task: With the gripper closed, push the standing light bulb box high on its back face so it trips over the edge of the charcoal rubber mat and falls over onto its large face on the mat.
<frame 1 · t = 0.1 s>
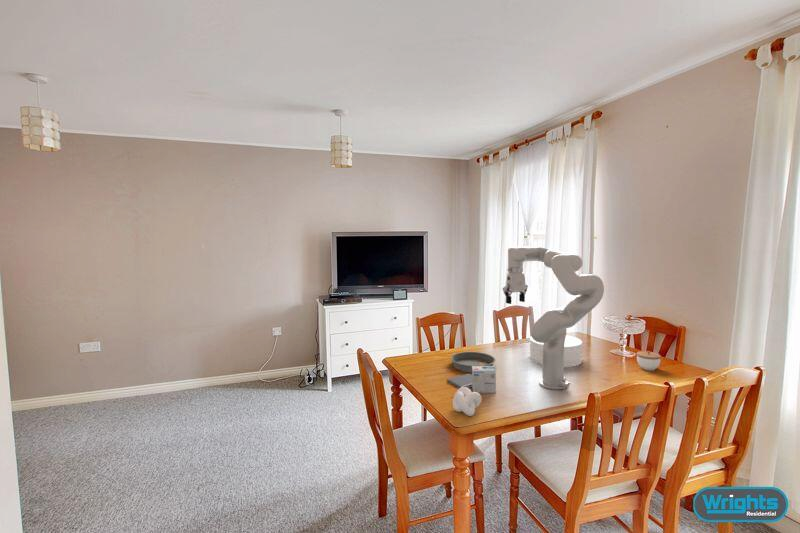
hand: (515, 302, 200), 37 cm above the table, tool pointing down, fingers open, 9 cm apart
mat: (465, 382, 188), on the table
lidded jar: (648, 368, 201), on the table
cake pan: (473, 366, 212), on the table
light bulb box: (483, 390, 178), on the table
plate stack: (555, 359, 220), on the table
white decorative knot: (468, 411, 157), on the table
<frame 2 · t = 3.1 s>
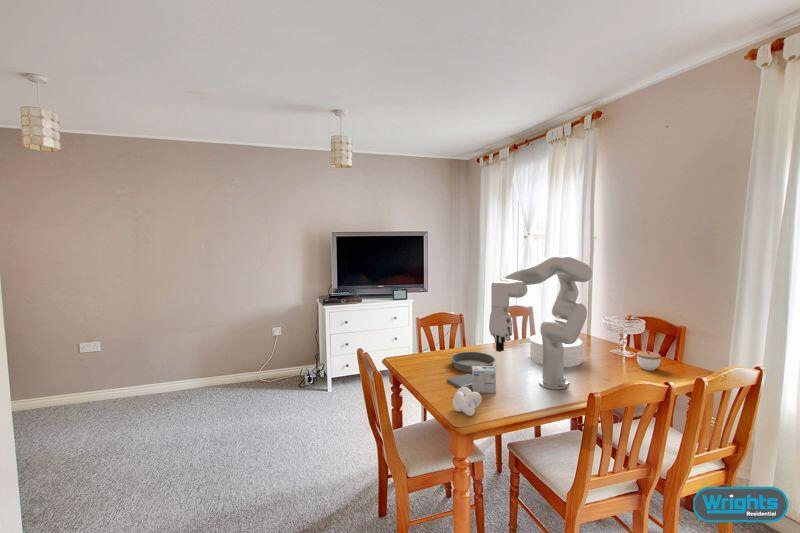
hand: (499, 350, 167), 22 cm above the table, tool pointing down, fingers closed
nothing on the table moved.
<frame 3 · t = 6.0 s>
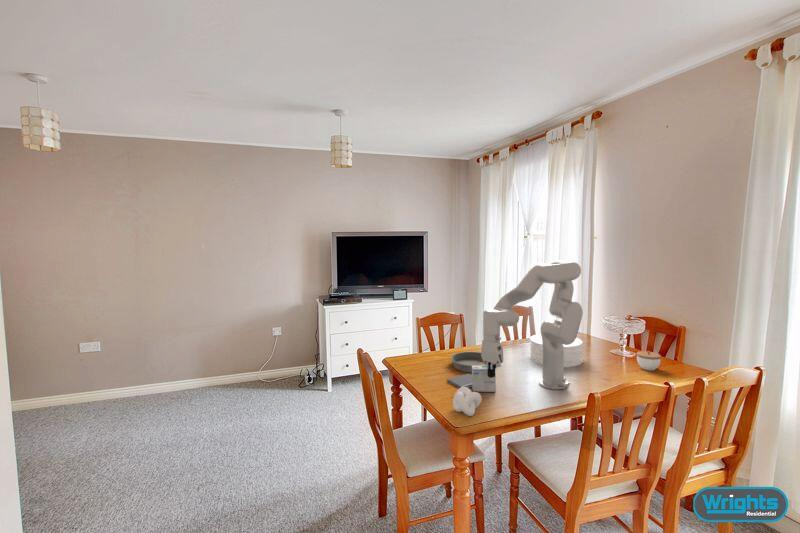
hand: (491, 376, 172), 8 cm above the table, tool pointing down, fingers closed
light bulb box: (483, 390, 178), on the table, touching gripper
everything else where it was.
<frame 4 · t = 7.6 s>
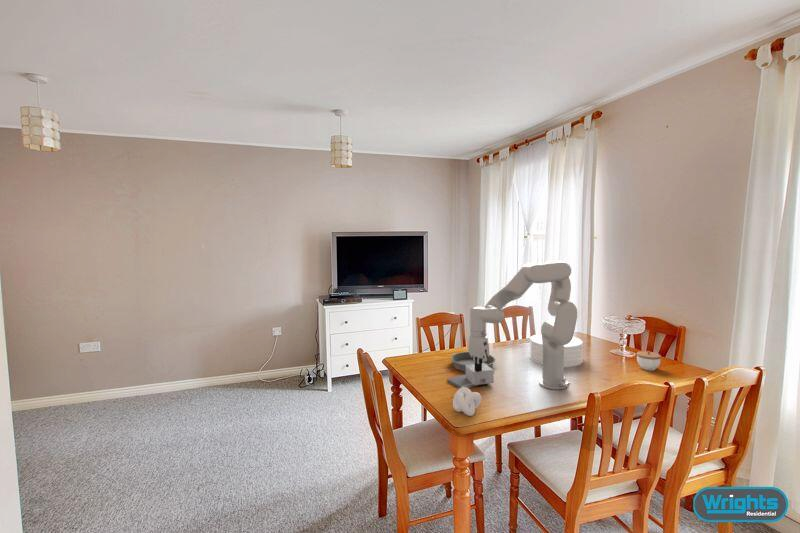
hand: (478, 370, 181), 8 cm above the table, tool pointing down, fingers closed
light bulb box: (483, 377, 181), point 5 cm above the table, touching mat
everything else where it was.
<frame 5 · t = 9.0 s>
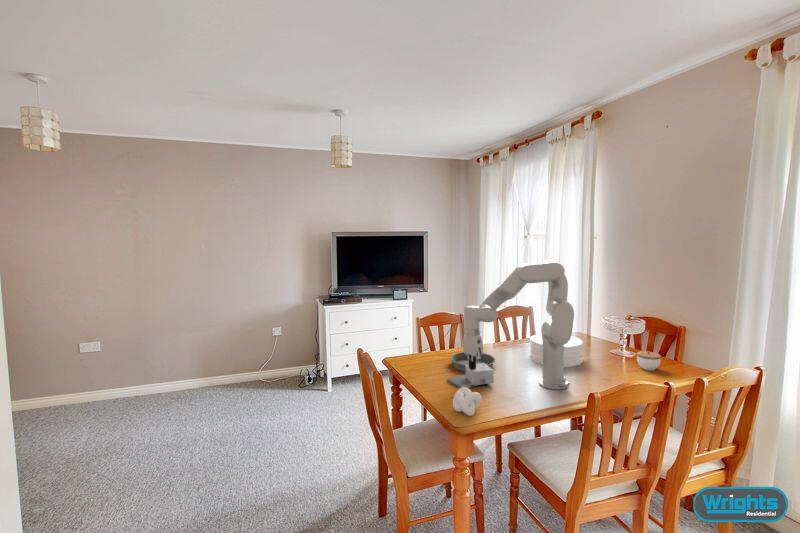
hand: (472, 368, 184), 8 cm above the table, tool pointing down, fingers closed
nothing on the table moved.
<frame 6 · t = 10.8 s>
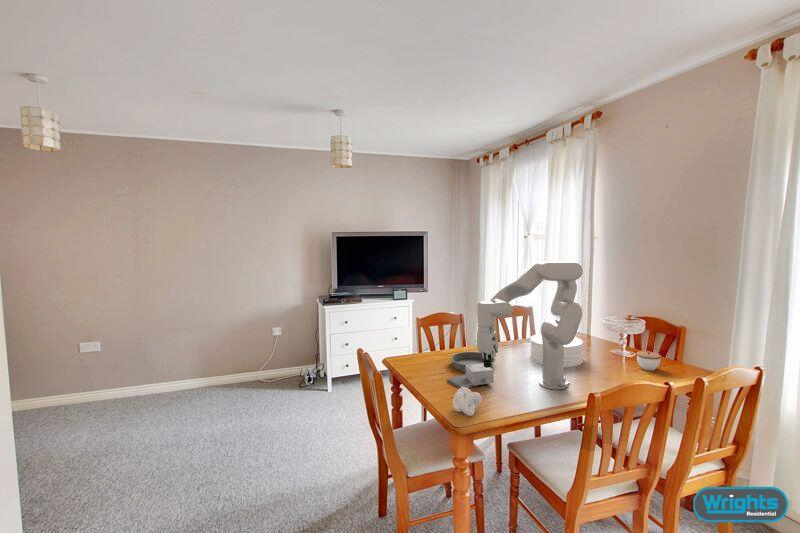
hand: (487, 366, 177), 11 cm above the table, tool pointing down, fingers closed
nothing on the table moved.
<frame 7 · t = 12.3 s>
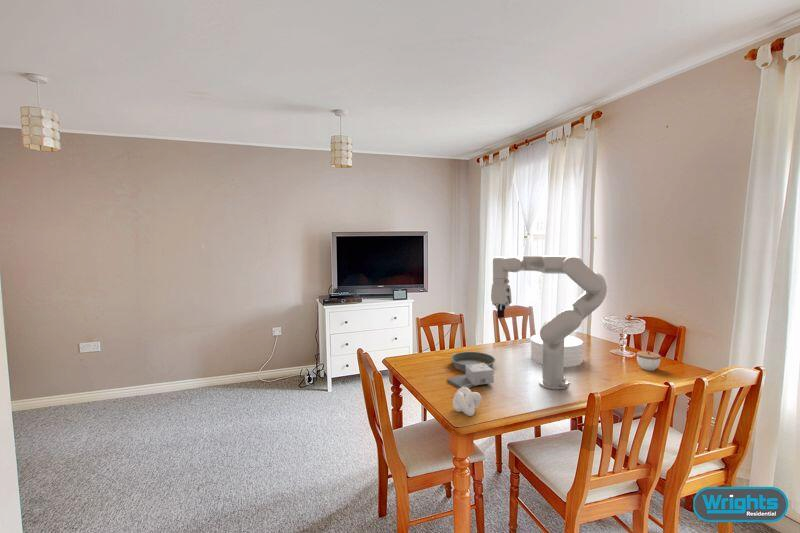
hand: (500, 317, 192), 31 cm above the table, tool pointing down, fingers closed
nothing on the table moved.
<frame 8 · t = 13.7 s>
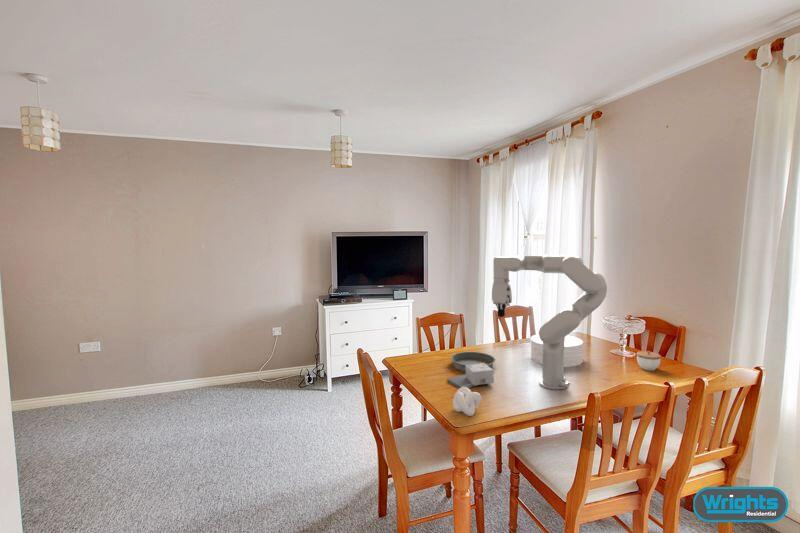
hand: (501, 316, 193), 31 cm above the table, tool pointing down, fingers closed
nothing on the table moved.
at the end: light bulb box tilted 92°; light bulb box inside the target area (12.9 cm from its centre), point 4.8 cm above the table; light bulb box moved 5.8 cm from its start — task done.
